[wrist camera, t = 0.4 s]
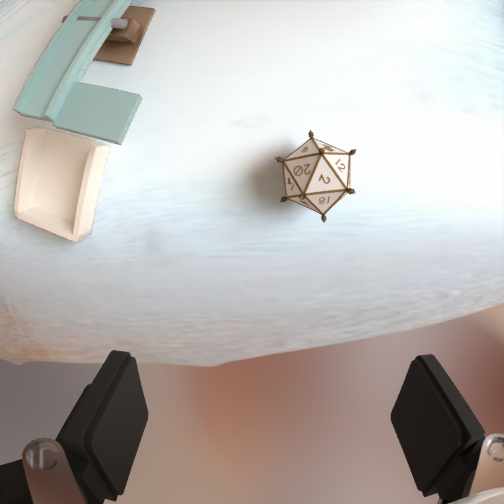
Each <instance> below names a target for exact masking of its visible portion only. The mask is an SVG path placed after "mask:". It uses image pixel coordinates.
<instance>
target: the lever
mask: <svg viewBox="0 0 504 504" xmlns="http://www.w3.org/2000/svg"><path fill="white" fill-rule="evenodd" d="M132 1H133V0H80V1H79V3H78V4H77V5H76V6H75V8H74V9H73V10H72V12H71V13H70V14H69V16H65V17H64V18H63V20H62V23H63V24H62V25H61V27H60V28H59V30H58V31H57V33H56V34H55V36H54V37H53V38H52V40H51V42H50V43H49V45H48V46H47V48H46V49H45V51H44V52H43V54H42V56H41V57H40V59H39V61H38V62H37V64H36V66H35V67H34V69H33V71H32V73H31V74H30V76H29V78H28V80H27V82H26V84H25V85H24V87H23V89H22V91H21V93H20V95H19V97H18V99H17V101H16V103H15V105H14V107H13V109H14V110H15V111H17V113H19V114H20V115H22V116H27V117H31V118H36V119H40V120H45V121H49V122H54V124H53V126H55V127H56V128H58V129H62V130H66V131H70V132H74V133H78V134H82V135H86V136H89V137H93V138H97V139H101V140H104V141H108V142H111V143H115V144H119V145H121V144H122V142H123V139H124V137H125V135H126V133H127V130H128V128H129V126H130V124H131V122H132V119H133V117H134V115H135V113H136V111H137V109H138V107H139V105H140V103H141V101H142V98H141V96H140V95H139V94H135V93H130V92H126V91H121V90H117V89H112V88H107V87H102V86H96V85H91V84H85V83H80V81H81V79H82V78H83V76H84V74H85V72H86V70H87V69H88V67H89V65H90V64H91V62H92V60H93V59H94V57H95V55H96V54H97V52H98V50H99V49H100V47H101V46H102V44H103V43H104V41H105V39H106V38H107V36H108V35H109V33H110V32H111V30H112V29H113V28H121V29H125V28H126V26H127V24H128V20H127V19H120V18H121V16H122V15H123V13H124V12H125V11H126V9H127V8H128V7H129V5H130V4H131V3H132Z"/></svg>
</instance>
